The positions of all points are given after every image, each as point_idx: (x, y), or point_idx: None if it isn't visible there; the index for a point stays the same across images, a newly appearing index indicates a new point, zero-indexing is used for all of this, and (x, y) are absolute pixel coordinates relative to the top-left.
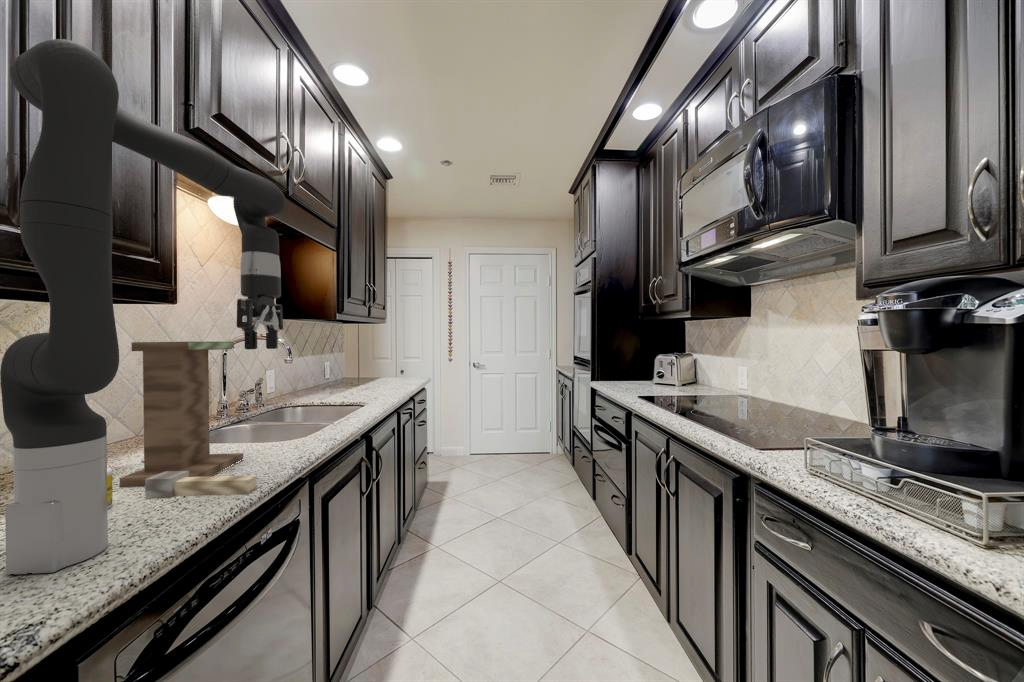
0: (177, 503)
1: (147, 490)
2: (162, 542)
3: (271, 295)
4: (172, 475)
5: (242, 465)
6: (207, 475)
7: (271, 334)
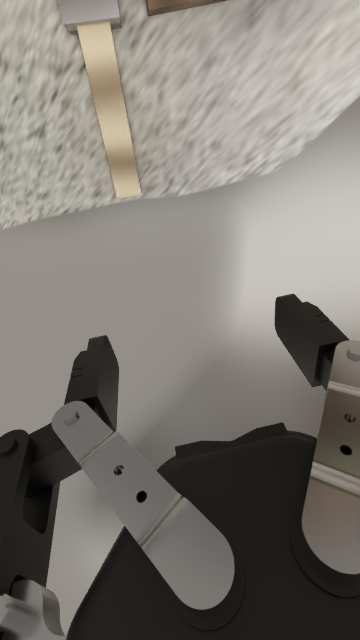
0: (53, 88)
1: None
2: None
3: None
4: (82, 1)
5: (280, 21)
6: (186, 6)
7: (310, 361)
